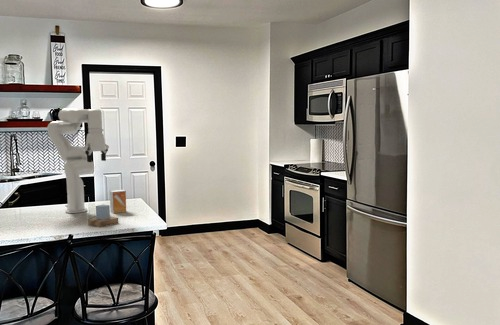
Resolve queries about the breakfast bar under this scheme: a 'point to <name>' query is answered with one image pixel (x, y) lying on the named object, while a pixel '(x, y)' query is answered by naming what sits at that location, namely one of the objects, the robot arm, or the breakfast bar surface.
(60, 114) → the robot arm
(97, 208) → the blue block
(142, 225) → the breakfast bar surface
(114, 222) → the walnut slab
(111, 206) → the small box
